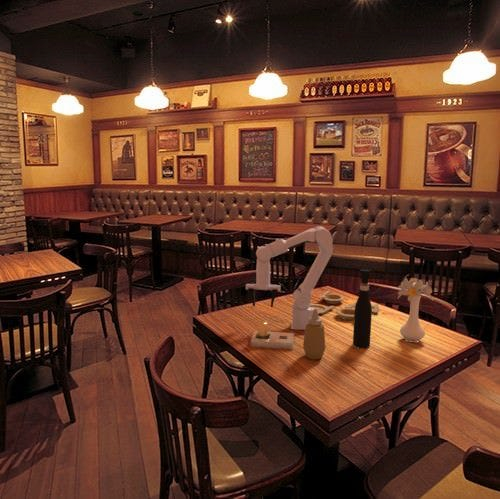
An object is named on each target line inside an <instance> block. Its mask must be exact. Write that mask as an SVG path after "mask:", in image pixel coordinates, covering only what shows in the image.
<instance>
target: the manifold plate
mask: <svg viewBox="0 0 500 499" xmlns="http://www.w3.org/2000/svg"><path fill="white" fill-rule="evenodd" d="M294 342H295V333H294V332H282V331H281V332H280V331H268V339H258V330H254V331H253V333H252V336H251V339H250V347H251V348H265V349H267V348H268V349H280V350H281V349H282V350H293V349H294Z"/></svg>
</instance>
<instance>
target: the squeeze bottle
mask: <svg viewBox="0 0 500 499" xmlns="http://www.w3.org/2000/svg"><path fill="white" fill-rule="evenodd" d="M322 323H323V319H322V318H321V317H320V316H319V314H318V311H317V309H314V311H313V315H312V317H310V318H309V323H308V324H307V325H306V328H305V330H304V336H303V346H302V347H303V351H304V354H305V356H306V358H308V359H310V360H320V359H322V358H323V355H324V354H325V352H326V351H325V350H326V346H327V345H326V335H325V333H326V331H325V326H324V325H323V324H322Z"/></svg>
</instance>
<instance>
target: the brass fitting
mask: <svg viewBox="0 0 500 499" xmlns="http://www.w3.org/2000/svg"><path fill="white" fill-rule="evenodd" d="M257 331H258V339H268V332H269V321H266V320H260V321H258V322H257Z"/></svg>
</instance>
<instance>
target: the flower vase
mask: <svg viewBox="0 0 500 499" xmlns="http://www.w3.org/2000/svg"><path fill="white" fill-rule="evenodd" d="M397 289H398V290H399V289H400V290H399V291H398V292H397V295H398V296H397V299H399V298H401V296H407V301H408V302H410V306H409V309H410V310H409V313H408V314H409V315H408V319H407V321H406V322H405V323H404V324H403V325H402V326H401V327H400V329H399V333H400V335H401V336H402V337H403V340H404V339H405V340H407V341H411V342H417V341H421V340H422V339H423V338H424V337H425V335H426V331H425V328H423V326H422V325H421V324H420V321H419V304H420V301H421V300H420V299H421V298H422V294H424V295H425V296H427V297H428V298H429V299H431V300H432V301H434V298H433V295H431V294H432V293H433V289H432V287H431V285H429V282H428V281H426V282H425V284H424V282H423V280H422V279H418V278H416V277H411V278H410V279H409V280H408V278H406V277H405V278H404V279H403V280H402V281H401V282H400V284H399V285H398V286H397ZM405 340H404V341H405ZM407 341H406V342H407Z"/></svg>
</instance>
